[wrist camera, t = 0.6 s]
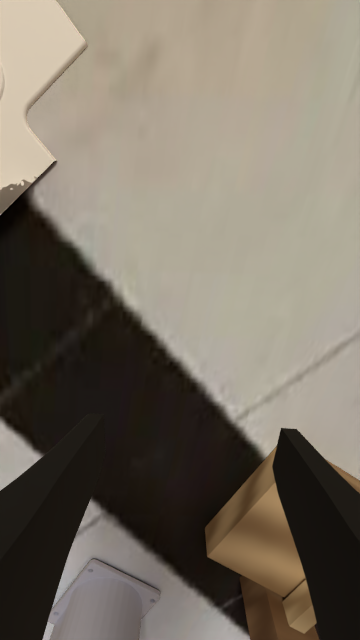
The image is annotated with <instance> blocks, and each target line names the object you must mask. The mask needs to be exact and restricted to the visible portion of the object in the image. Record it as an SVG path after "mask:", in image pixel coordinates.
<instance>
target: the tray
mask: <svg viewBox="0 0 360 640" xmlns="http://www.w3.org/2000/svg"><path fill="white" fill-rule="evenodd" d="M87 46H88V44H87V42H86V41H85V39H84V38H83V37H82V35H81V34H80V33H79V32H78V30H77V29H76V27H75V26H74V24H73V23H72V22H71V20H70V19H69V18H68V16H67V15H66V13H65V12H64V10H63V9H62V8H61V6H60V5H59V4H58V3H57V1H56V0H0V215H1V214H2V213H3V212H4V211H5V210H6V209H7V208H8V207H9V206H10V205H11V204H12V203H13V202H14V201H15V200H16V199H17V198H18V197H19V196H20V195H21V194H22V193H23V192H24V191H25V190H26V189H27V188H28V187H29V186H30V185H31V184H32V183H33V181H35V180H36V179H37V178H38V177H39V176H40V175H41V174H42V173H43V172H44V171H45V170H46V169H47V168H48V167H49V166H50V165H51V164H52V163H53V162H54V161H57V160H56V159H55V158H54V157H53V155H52V154H51V153H50V152H49V151H48V149H47V148H46V147H45V146H44V145H43V143H42V142H41V141H40V140H39V139H38V137H37V136H36V135H35V134H34V133H33V131H32V130H31V129H30V127H29V125H28V122H27V113H28V110H29V108H30V107H31V106H32V105H33V104H34V103H35V101H36V100H37V99H38V98H39V97H40V96H41V95H42V94H43V93H44V92H45V91H46V90H47V89H48V88H49V87H50V86H51V85H52V83H53V82H54V81H55V80H56V79H57V78H58V77H59V76H60V75H61V74H62V73H63V72H64V71H65V70H66V69H67V68H68V66H69V65H70V64H71V63H72V62H73V61H74V60H75V59H76V58H77V57H78V56H79V55H80V54H81V53H82V52H83V51H84V50H85V48H86V47H87Z"/></svg>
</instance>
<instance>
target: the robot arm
mask: <svg viewBox="0 0 360 640" xmlns="http://www.w3.org/2000/svg"><path fill="white" fill-rule="evenodd" d="M105 453H106V450H105V428H104V414H93V413H89V414H88V415H86V416H85V417H84V418H83V419H82V420H81V421H80V422H79V423H78V424H77V425H76V426H75V427H74V428H73V429H72V430H71V431H70V432H69V433H68V434H67V435H66V436H65V437H64V438H63V439H62V440H61V441H60V442H59V443H57V444H56V445H55V446H54V447H53V448H52V449H51V450H50V451H49V452H48V453H47V454H45V455H44V456H43V457H42V458H41V459H40V460H38V461H37V462H36V463H35V464H34V465H33V466H31V467H30V468H29V469H28V470H27V471H25V472H24V473H23V474H22V475H20V476H19V477H18V478H17V479H15V480H14V481H13V482H11V483H10V484H9V485H7V486H6V487H5V488H3V489H2V490H1V491H0V640H42V639H43V636H44V632H45V629H46V625H47V622H50V623H52V624H55V625H54V628H53V631H52V634H51V637H50V640H139V634H140V625H141V619H142V618H143V617H144V616H145V615H146V614H147V612H148V611H149V610H150V609H151V608H152V607H153V606H154V605H155V604H156V602H157V601H158V600H159V599H160V591H158V590H157V589H155V588H153V587H151V586H149V585H147V584H145V583H142V582H140V581H138V580H136V579H134V578H132V577H130V576H128V575H126V574H124V573H122V572H120V571H118V570H116V569H114V568H112V567H110V566H108V565H106V564H104V563H102V562H100V561H98V560H96V559H92V560H90V561H89V563H88V564H87V565H86V566H85V568H84V569H83V570H82V571H81V573H80V574H79V575H78V577H77V578H76V579H75V580H74V582H73V583H72V584H71V586H70V587H69V588H68V589H67V591H66V592H65V593H64V595H63V596H62V597H61V598H60V600H59V601H58V602H57V604H56V605H55V606H54V607H53V609H52V605H53V602H54V599H55V595H56V592H57V589H58V586H59V582H60V579H61V576H62V573H63V570H64V567H65V563H66V560H67V557H68V554H69V551H70V549H71V546H72V543H73V541H74V538H75V536H76V533H77V531H78V528H79V526H80V523H81V521H82V518H83V516H84V513H85V511H86V509H87V506H88V504H89V501H90V499H91V496H92V494H93V491H94V489H95V486H96V484H97V481H98V478H99V475H100V471H101V468H102V464H103V461H104V457H105ZM272 468H273V473H274V478H275V483H276V487H277V491H278V495H279V498H280V501H281V504H282V507H283V510H284V513H285V516H286V519H287V522H288V525H289V528H290V531H291V534H292V537H293V540H294V543H295V546H296V549H297V552H298V555H299V558H300V561H301V564H302V567H303V571H304V574H305V577H306V581H307V585H308V589H309V593H310V597H311V601H312V605H313V609H314V613H315V617H316V622H317V626H318V630H319V635H320V639H321V640H360V493H359V492H358V491H356V490H355V489H354V488H353V487H352V486H351V485H350V484H349V483H348V482H347V481H346V480H345V479H344V478H343V477H342V476H341V475H340V474H339V473H338V472H337V471H336V470H335V469H334V468H333V467H332V466H331V465H330V464H329V463H328V462H327V461H326V460H325V459H324V458H323V457H322V456H321V455H320V454H319V452H318V451H317V450H316V449H315V448H314V447H313V446H312V445H311V444H310V443H309V442H308V441H307V440H306V439H305V438H304V437H303V435H302V434H301V433H300V432H299V431H298V430H297V429H286V428H281V431H280V436H279V440H278V444H277V448H276V452H275V456H274V461H273V465H272ZM51 609H52V610H51Z"/></svg>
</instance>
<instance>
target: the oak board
mask: <svg viewBox="0 0 360 640" xmlns="http://www.w3.org/2000/svg"><path fill="white" fill-rule="evenodd" d="M276 448H277V447H276ZM276 448H275V449H274V450H273V451H272V452H271V453H270V454H269V456H268V457H267V458H266V459H265V460H264V461H263V462H262V464H261V465H260V466H259V467H258V468H257V469H256V470H255V471H254V473H253V474H252V475H251V476H250V477H249V478H248V479H247V481H246V482H245V483H244V484H243V485H242V486H241V487H240V488H239V490H238V491H237V492H236V493H235V494H234V495H233V496H232V498H231V499H230V500H229V501H228V502H227V503H226V504H225V506H224V507H223V508H222V509H221V510H220V511H219V512H218V513H217V515H216V516H215V517H214V518H213V519H212V520H211V521H210V523H209V524H208V525H207V526H206V527H205V535H206V547H207V557H209V558H211V559H213V560H215V561H216V562H218V563H220V564H222V565H224V566H226V567H228V568H230V569H232V570H234V571H235V572H237V573H239V574H241V575H243V576H245V577H247V578H249V579H251V580H252V581H254V582H256V583H258V584H260V585H262V586H264V587H266V588H268V589H270V590H271V591H273V592H275V593H277V594H279V595H281V596H283V597H285V598H287V597H288V596H289V595H290V594H291V593H292V592H293V591H294V590H295V589H296V588H297V587H298V586H300V585H301V584H302V583H303V582H304V581H305V580H306V577H305V574H304V571H303V567H302V564H301V561H300V558H299V555H298V552H297V549H296V546H295V543H294V540H293V537H292V534H291V531H290V528H289V525H288V522H287V519H286V516H285V513H284V510H283V507H282V504H281V501H280V498H279V495H278V491H277V487H276V483H275V478H274V473H273V468H272V465H273V461H274V456H275V452H276ZM325 460H326V459H325ZM326 461H327V460H326ZM327 462H328V463H329V464H330V465H331V466H332V467H333V468H334V469H335V470H336V471H337V472H338V473H339V474H340V475H341V476H342V477H343V478H344V479H345V480H346V481H347V482H348V483H349V484H350V485H351V486H352V487H353V488H354V489H355V490H356V491H358V492H359V493H360V481H359V480H358V479H356V478H354V477H353V476H351V475H350V474H348V473H346V472H345V471H343V470H342V469H340V468H338V467H337V466H335V465H334V464H332V463H330V462H329V461H327Z"/></svg>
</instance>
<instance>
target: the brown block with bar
mask: <svg viewBox="0 0 360 640" xmlns="http://www.w3.org/2000/svg"><path fill="white" fill-rule="evenodd" d="M240 583H241V589H242V595H243V600H244V606H245V612H246V617H247V623H248V629H249V634H250V640H319V638H318V635H317V632H316V629H315V626H314V625H315V624H316V623H317V622H316V617H315V613H314V609H313V605H312V601H311V597H310V593H309V589H308V585H307V581H306V580H305V581H304V582H303V583H302V584H301V585H300V586H298V587H297V588H296V589H295V590H294V591H293V592H292V593H291V594H290V595H289V596H288V597H287V598H285V597H283V596H281V595H279V594H277V593H275V592H273V591H271V590H270V589H268V588H266V587H264V586H262V585H260V584H258V583H256V582H254V581H252V580H251V579H249V578H247V577H245V576H243V575H242V576H241V577H240Z"/></svg>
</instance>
